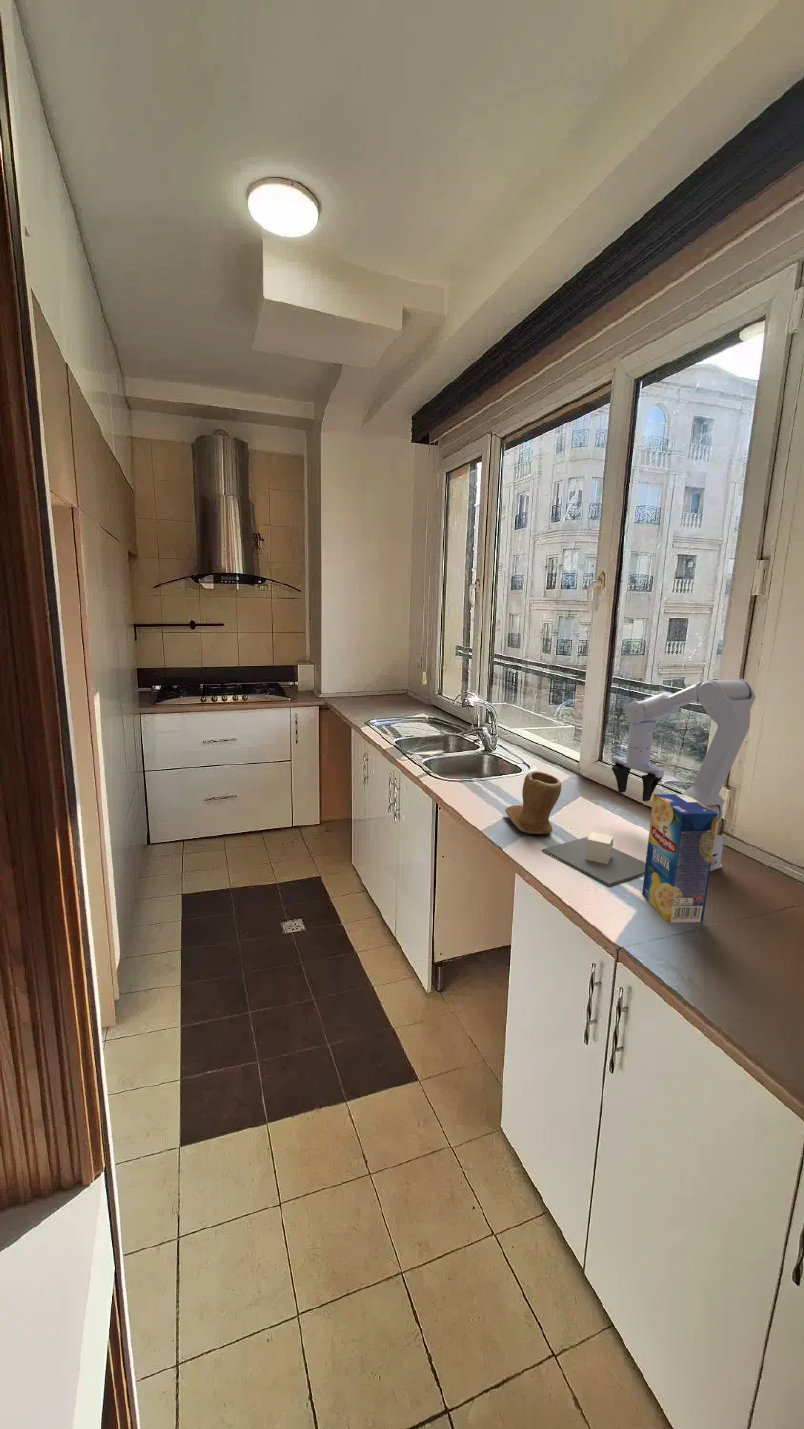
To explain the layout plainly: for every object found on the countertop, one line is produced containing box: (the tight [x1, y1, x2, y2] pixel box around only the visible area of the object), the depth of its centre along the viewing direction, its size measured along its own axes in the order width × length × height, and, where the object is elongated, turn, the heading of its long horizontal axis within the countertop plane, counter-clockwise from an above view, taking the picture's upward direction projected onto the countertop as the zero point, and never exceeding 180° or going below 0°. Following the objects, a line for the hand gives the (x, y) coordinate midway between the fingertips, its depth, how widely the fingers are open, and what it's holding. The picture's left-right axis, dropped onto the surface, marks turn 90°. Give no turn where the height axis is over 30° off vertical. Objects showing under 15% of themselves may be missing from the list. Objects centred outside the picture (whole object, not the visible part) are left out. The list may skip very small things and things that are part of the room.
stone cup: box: [504, 770, 562, 835], centre depth 156 cm, size 15×12×15 cm
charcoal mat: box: [542, 836, 646, 887], centre depth 138 cm, size 20×16×1 cm
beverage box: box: [641, 793, 718, 924], centre depth 116 cm, size 7×11×22 cm, turn 4°
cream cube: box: [585, 831, 614, 864], centre depth 138 cm, size 5×5×5 cm
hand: (633, 796), depth 156 cm, fingers open, 7 cm apart
